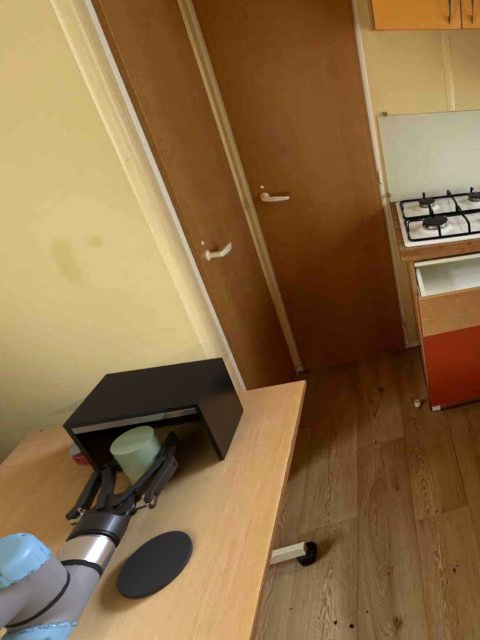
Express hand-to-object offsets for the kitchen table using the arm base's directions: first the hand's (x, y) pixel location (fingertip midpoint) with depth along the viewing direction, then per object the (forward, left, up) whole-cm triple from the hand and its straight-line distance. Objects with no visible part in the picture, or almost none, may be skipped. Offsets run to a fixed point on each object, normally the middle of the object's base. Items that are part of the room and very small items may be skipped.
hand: (154, 438), depth 93 cm
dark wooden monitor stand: (-4, +4, -8) cm, 10 cm away
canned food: (-18, -8, -9) cm, 21 cm away
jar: (+4, -3, -6) cm, 8 cm away
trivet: (+23, -9, -8) cm, 26 cm away
